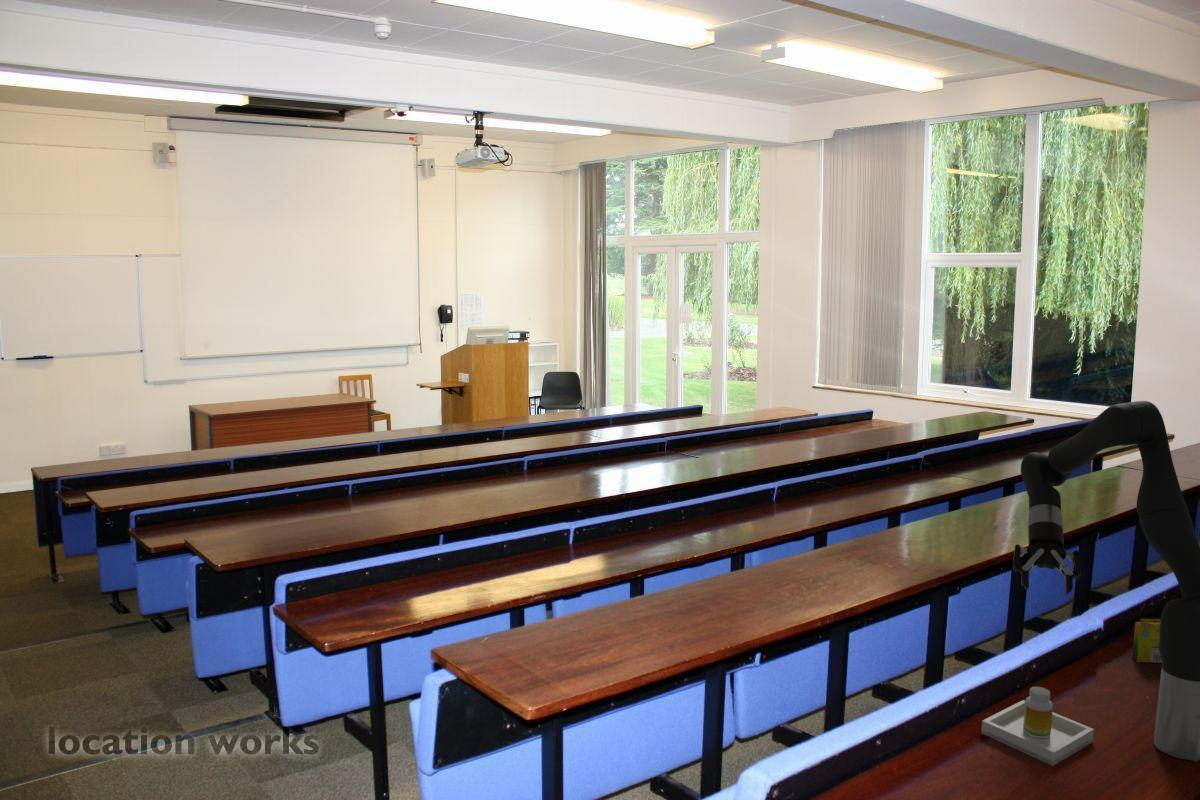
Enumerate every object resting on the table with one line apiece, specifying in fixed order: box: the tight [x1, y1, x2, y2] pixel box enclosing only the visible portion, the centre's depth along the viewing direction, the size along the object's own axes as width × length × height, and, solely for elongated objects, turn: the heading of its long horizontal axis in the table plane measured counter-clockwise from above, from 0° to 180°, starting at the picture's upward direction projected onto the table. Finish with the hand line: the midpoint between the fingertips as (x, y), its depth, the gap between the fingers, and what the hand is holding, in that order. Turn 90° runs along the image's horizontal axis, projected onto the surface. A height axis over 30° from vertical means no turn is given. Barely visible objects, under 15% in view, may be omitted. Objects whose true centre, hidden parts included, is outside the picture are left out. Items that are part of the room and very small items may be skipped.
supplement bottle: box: [1023, 686, 1054, 739], centre depth 203 cm, size 5×5×10 cm
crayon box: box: [1131, 618, 1162, 664], centre depth 241 cm, size 7×3×12 cm, turn 84°
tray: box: [980, 699, 1095, 767], centre depth 204 cm, size 16×16×3 cm
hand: (1047, 590), depth 217 cm, fingers open, 8 cm apart
